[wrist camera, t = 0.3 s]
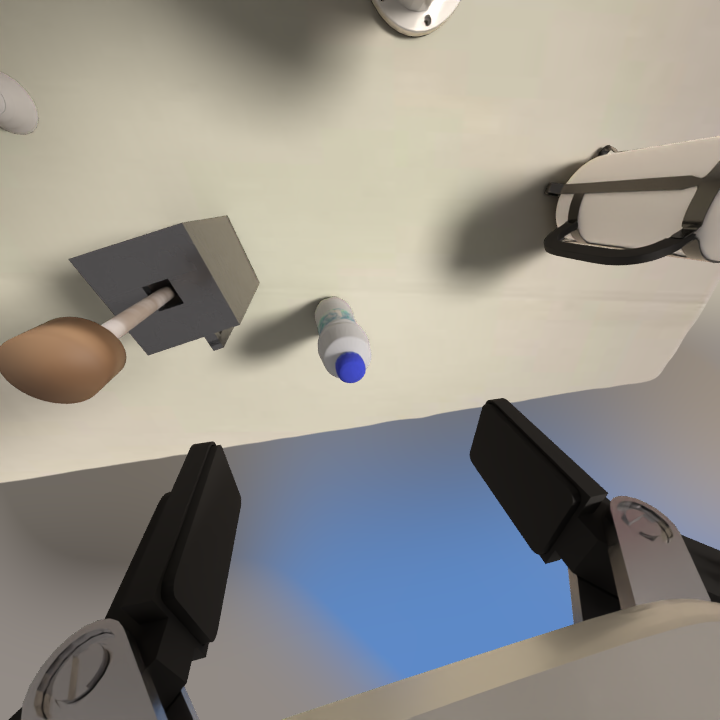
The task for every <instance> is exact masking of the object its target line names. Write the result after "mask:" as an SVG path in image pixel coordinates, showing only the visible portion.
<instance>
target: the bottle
mask: <svg viewBox="0 0 720 720" xmlns="http://www.w3.org/2000/svg"><path fill="white" fill-rule="evenodd" d="M315 322H316V325H317V328H318V333H319V339H318V353H319V356H320V358H321V360H322V362H323V364H324V366H325V368H326V370H327V371H328V372H329V373H330V374H331V375H333V376H335V377H337V378H340V379H341V380H342V381H343V382H346V383H354V382H357V381H359V380H360V379H361V378H362V377H363V376H364V374H365V370H366V369H367V368H368V366H369V364H370V361H371V349H370V344H369V339H368V336H367V334H366V333H365V331H364V330H363V329H362V327H361V326H360V325H358V323H357V321H356V319H355V317H354V314H353V311H352V309H351V307H350V305H349V304H348V303H347V302H346V301H345V300H343V299H341V298H338V297H335V296H333V297H330V298H327V299H323V300H322V301H321V302H320V303H319V305H318V306H317V308H316V311H315Z"/></svg>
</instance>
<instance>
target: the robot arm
mask: <svg viewBox="0 0 720 720" xmlns="http://www.w3.org/2000/svg"><path fill="white" fill-rule="evenodd" d="M372 2H373V4H374V6H375V8H376V9H377V11H378V12H379V14H380V15H381V17H382V18H383V19H384V20H385V21H386V22H387V23H388V24H389V26H391V27H392V28H394V29H395V30H396V31H398V32H400V33H402V34H405V35H408V36H422V35H427V34H429V33H431V32H433V31H435V30H437V29H438V28H439V27H440V26H441V25H442V24H444V23H445V22H446V21H447V19H448V18H449V17H450V16H451V15H452V14H453V12H454V11H455V9H456V8H457V6H458V5H459V3H460V2H461V0H383V2H382V1H381V0H372ZM424 22H425V23H426V25H425V23H424ZM470 459H471V461H472V463H473V465H474V466H475V467H476V469H477V471H478V472H479V473H480V475H481V476H482V478H483V479H484V481H485V482H486V484H487V485H488V487H489V488H490V490H491V491H492V492H493V494H494V495H495V497H496V498H497V500H498V501H499V503H500V504H501V506H502V507H503V509H504V510H505V511H506V513H507V514H508V516H509V517H510V519H511V520H512V522H513V523H514V525H515V526H516V528H517V529H518V530H519V532H520V533H521V535H522V536H523V538H524V539H525V541H526V542H527V544H528V545H529V546H530V548H531V549H532V550H533V551H534V552H535V553H536V554H539V555H540V557H541V558H542V559H543V561H544V562H545V564H547V563H550V562H554V561H557V560H560V559H562V560H563V561H564V562H565V564H566V565H567V566H568V572H569V581H570V592H571V601H572V610H573V620H574V624H573V625H570V626H567V627H564V628H561V629H558V630H554V631H551V632H549V633H545V634H542V635H539V636H536V637H532V638H530V639H526V640H523V641H520V642H517V643H514V644H511V645H508V646H504V647H501V648H498V649H495V650H492V651H489V652H486V653H483V654H480V655H477V656H474V657H470V658H467V659H464V660H461V661H458V662H455V663H452V664H449V665H446V666H443V667H440V668H437V669H434V670H430V671H427V672H424V673H421V674H419V675H415V676H412V677H409V678H406V679H403V680H400V681H397V682H394V683H391V684H388V685H385V686H382V687H379V688H376V689H372V690H369V691H367V692H363V693H361V694H358V695H354V696H351V697H348V698H345V699H342V700H339V701H336V702H333V703H330V704H327V705H324V706H321V707H318V708H315V709H312V710H309V711H306V712H303V713H300V714H297V715H294V716H291V717H288V718H285V719H282V720H720V551H719V550H717V549H714V548H712V547H709V546H707V545H705V544H702V543H700V542H697V541H695V540H693V539H690V538H687V537H685V536H683V535H681V534H680V532H679V531H678V529H677V528H676V526H675V525H674V524H673V523H672V522H671V521H670V520H669V519H668V518H667V517H666V516H665V515H664V514H662V513H661V512H660V511H658V510H657V509H656V508H654V507H652V506H651V505H649V504H647V503H645V502H643V501H640V500H638V499H636V498H631V497H627V496H618V497H615V498H613V499H612V500H611V501H610V500H608V499H607V498H606V496H607V494H608V492H606V491H605V490H604V489H603V488H602V487H601V486H600V485H599V484H598V483H597V482H595V481H594V480H593V479H592V478H591V477H590V476H589V475H588V474H587V473H586V472H585V471H584V470H583V469H581V468H580V467H579V466H578V465H577V464H576V463H575V462H574V461H573V460H572V459H571V458H569V457H568V456H567V455H566V454H565V453H564V452H563V451H562V450H560V449H559V447H558V446H556V445H555V444H554V443H553V442H552V441H551V440H550V439H549V438H548V437H547V436H546V435H544V434H543V433H542V432H541V431H540V430H539V429H538V428H537V427H536V426H535V425H533V423H531V422H530V421H529V420H528V419H527V418H526V417H525V416H524V415H523V414H522V413H521V412H520V411H518V410H517V409H516V408H515V407H514V406H513V405H512V404H511V403H510V402H509V401H508V400H506V399H504V398H500V399H493V400H488V401H487V402H486V404H485V405H484V406H483V407H482V411H481V414H480V418H479V421H478V425H477V429H476V433H475V436H474V440H473V443H472V447H471V450H470ZM240 508H241V496H240V493H239V491H238V488H237V486H236V483H235V480H234V478H233V475H232V473H231V470H230V467H229V464H228V462H227V459H226V457H225V454H224V451H223V448H222V446H221V445H217V446H216V444H215V443H214V442H206V443H199V444H193V445H192V446H191V448H190V450H189V452H188V455H187V457H186V459H185V461H184V464H183V466H182V468H181V471H180V473H179V475H178V477H177V480H176V482H175V484H174V486H173V489H172V491H171V492H169V493H166V494H165V495H164V496H163V497H162V498H161V500H160V502H159V503H158V505H157V508H156V510H155V512H154V514H153V516H152V518H151V520H150V523H149V525H148V527H147V529H146V531H145V533H144V536H143V538H142V540H141V542H140V544H139V546H138V549H137V551H136V553H135V555H134V557H133V559H132V561H131V563H130V566H129V568H128V570H127V572H126V575H125V577H124V579H123V581H122V583H121V585H120V587H119V590H118V592H117V594H116V596H115V598H114V600H113V602H112V604H111V607H110V609H109V611H108V613H107V615H106V617H105V619H103V620H97V621H95V622H93V623H91V624H88V625H86V626H84V627H83V628H81V629H80V630H78V631H77V632H75V633H74V634H73V635H71V636H70V637H69V638H68V639H66V640H65V641H64V643H62V644H61V645H60V646H59V647H58V648H57V649H56V650H55V651H54V652H53V653H52V654H51V656H50V657H49V658H48V659H47V660H46V662H45V663H44V664H43V665H42V667H41V668H40V670H39V671H38V673H37V674H36V676H35V678H34V680H33V681H32V683H31V684H30V686H29V689H28V691H27V694H26V697H25V699H24V701H23V705H22V708H21V709H20V710H18V711H17V712H16V713H15V714H14V715H13V716H12V717H11V718H10V719H9V720H199V718H198V716H197V714H196V711H195V709H194V707H193V705H192V702H191V700H190V698H189V696H188V693H187V691H186V689H185V687H184V686H185V684H186V683H187V679H188V675H189V670H190V666H191V662H192V661H193V660H197V659H201V658H204V657H206V654H207V649H208V644H209V642H213V641H214V640H215V638H216V635H217V631H218V626H219V621H220V615H221V610H222V605H223V599H224V594H225V588H226V583H227V578H228V572H229V567H230V561H231V556H232V551H233V545H234V540H235V535H236V529H237V523H238V518H239V513H240Z"/></svg>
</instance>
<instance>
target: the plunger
mask: <svg viewBox="0 0 720 720" xmlns="http://www.w3.org/2000/svg"><path fill="white" fill-rule="evenodd" d="M148 287H149V288H150V289H151V291H152V292H153V293H152V294H151V295H149V296H147V297H146V298H144V299H142V300H141V301H139V302H138V303H136V304H134V305H133V306H131V307H129V308H128V309H126V310H125V311H123V312H121V313H120V314H118V315H116V316H115V317H113V318H112V319H110V320H108V321H107V322H105V323H103V324H102V325H99V324H97V323H95V322H93V321H90V320H87V319H83V318H78V317H59V318H55V319H52V320H50V321H48V322H46V323H44V324H41V325H39V326H37V327H35V328H33V329H31V330H29V331H27V332H24V333H22V334H20V335H18V336H16V337H14V338H12V339H10V340H8V341H6V342H4V343H3V344H2V345H1V346H0V372H1V374H2V375H3V376H4V378H5V379H6V380H7V381H8V382H9V383H10V384H12V385H13V386H14V387H16V388H17V389H19V390H20V391H22V392H24V393H26V394H27V395H30V396H32V397H34V398H37V399H40V400H44V401H48V402H53V403H61V404H70V403H78V402H82V401H85V400H88V399H90V398H91V397H93V396H94V395H95V394H96V393H97V392H99V391H100V390H101V389H102V388H103V387H104V386H105V385H106V384H107V383H108V382H109V381H110V380H111V379H112V378H113V377H114V376H116V375H117V374H118V373H119V372H120V371H121V370H122V368H123V367H124V365H125V363H126V352H125V349H124V347H123V345H122V343H121V342H120V340H119V338H121V337H122V336H123V335H125V334H126V333H127V332H129V331H130V330H131V329H133V328H134V327H135V326H136V325H138V324H139V323H140V322H142V321H143V320H144V319H146V318H147V317H148V316H150V315H151V314H152V313H154V312H155V311H156V310H158V309H159V308H160V307H162V306H163V308H166V307H169V306H172V305H175V304H178V303H181V302H183V301H182V300H181V298H180V296H179V295H178V293H177V292H176V290H175V289H174V287H173V286H172V284H171V283H170V281H169V280H168V279H165V280H162V281H159V282H156V283H153V284H150V285H148Z"/></svg>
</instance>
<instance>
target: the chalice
mask: <svg viewBox="0 0 720 720" xmlns="http://www.w3.org/2000/svg"><path fill="white" fill-rule="evenodd" d="M37 124H38V112H37V109H36V106H35V104H34V101H33V100H32V98H31V97H30V95H29V94H28V92H27V91H26V90H25V89H24V88H23V87H22V86H21V85H20V84H19V83H18V82H17V81H16V80H14V79H13V78H11V77H10V76H8V75H7V74H4V73H2V72H0V127H2V128H3V129H5V130H7V131H10V132H12V133H15V134H28V133H31V132H33V130H34V129H35V128H36V127H37Z"/></svg>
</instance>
